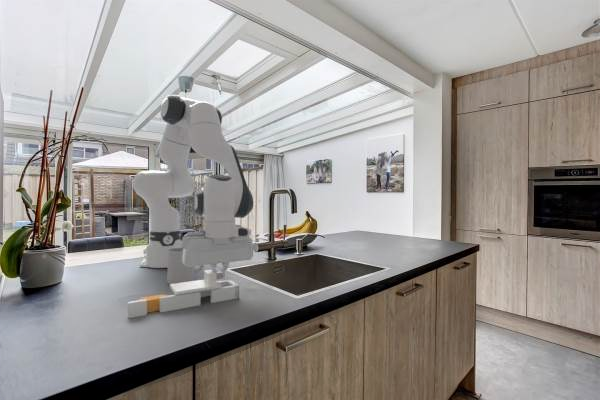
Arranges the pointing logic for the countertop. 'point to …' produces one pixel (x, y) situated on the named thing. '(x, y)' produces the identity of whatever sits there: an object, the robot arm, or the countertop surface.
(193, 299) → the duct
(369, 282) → the countertop surface
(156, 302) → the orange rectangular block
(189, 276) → the mug
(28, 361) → the countertop surface
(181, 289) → the cover
